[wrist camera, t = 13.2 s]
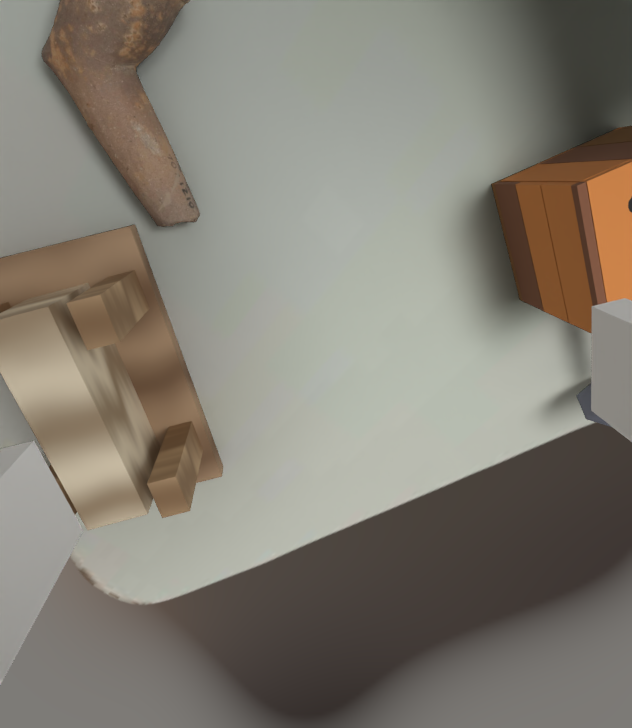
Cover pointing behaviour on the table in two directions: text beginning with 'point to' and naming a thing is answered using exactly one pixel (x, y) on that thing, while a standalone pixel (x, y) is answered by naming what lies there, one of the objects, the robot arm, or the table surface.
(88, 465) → the cream wooden block
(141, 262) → the wooden block assembly
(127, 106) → the pipe
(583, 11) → the table surface
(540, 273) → the wooden box with plunger
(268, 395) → the table surface
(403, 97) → the table surface
